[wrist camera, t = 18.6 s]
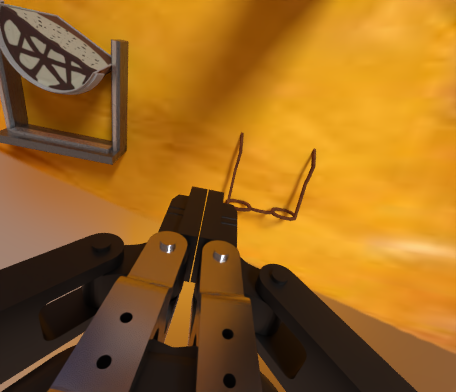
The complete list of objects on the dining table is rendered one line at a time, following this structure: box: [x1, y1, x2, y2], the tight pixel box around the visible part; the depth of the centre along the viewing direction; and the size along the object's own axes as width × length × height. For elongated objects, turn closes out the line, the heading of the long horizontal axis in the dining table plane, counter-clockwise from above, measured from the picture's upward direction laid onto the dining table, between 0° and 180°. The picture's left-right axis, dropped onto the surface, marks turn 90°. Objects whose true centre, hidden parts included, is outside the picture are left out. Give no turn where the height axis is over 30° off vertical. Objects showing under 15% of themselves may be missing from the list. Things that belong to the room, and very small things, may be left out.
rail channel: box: [0, 40, 128, 165], centre depth 40 cm, size 17×17×6 cm
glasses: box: [225, 133, 316, 221], centre depth 47 cm, size 13×13×5 cm
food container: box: [0, 0, 112, 95], centre depth 36 cm, size 12×6×10 cm, turn 53°
